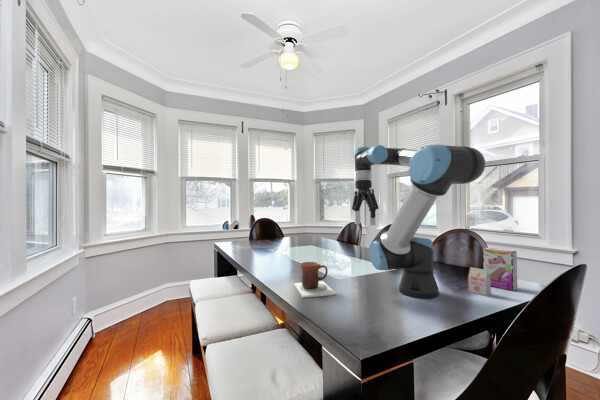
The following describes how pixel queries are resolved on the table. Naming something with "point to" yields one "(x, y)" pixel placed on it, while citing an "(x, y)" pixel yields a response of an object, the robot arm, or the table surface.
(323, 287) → the card
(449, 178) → the robot arm
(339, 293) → the table surface
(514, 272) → the candy bar box
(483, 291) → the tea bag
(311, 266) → the mug
